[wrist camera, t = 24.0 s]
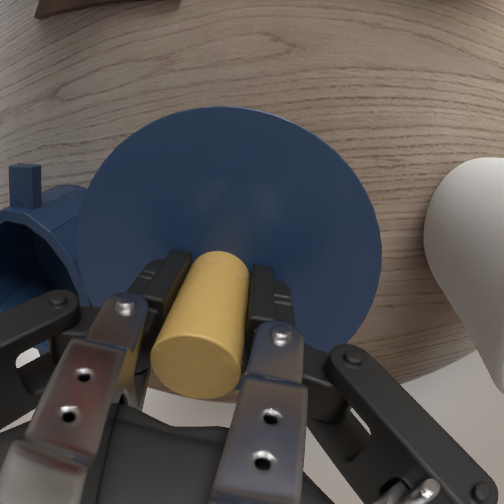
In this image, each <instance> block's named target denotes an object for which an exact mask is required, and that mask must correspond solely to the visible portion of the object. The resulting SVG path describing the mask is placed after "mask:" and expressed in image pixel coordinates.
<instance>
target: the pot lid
mask: <svg viewBox="0 0 504 504" xmlns="http://www.w3.org/2000/svg"><path fill="white" fill-rule="evenodd" d="M172 249H175V250H181V251H186V252H191V267H190V269H189V271H188V273H187V275H186V278H185V280H184V282H183V284H182V286H181V288H180V290H179V292H178V294H177V296H176V298H175V300H174V302H173V304H172V306H171V309H170V311H169V313H168V315H167V317H166V319H165V321H164V323H163V326H162V328H161V330H160V332H159V334H158V336H157V339H156V341H155V343H154V345H153V347H152V350H151V352H150V366H151V368H152V370H153V372H154V374H155V376H156V377H157V378H158V379H159V381H160V382H161V383H163V384H164V385H165V386H166V387H167V388H169V389H171V390H172V391H174V392H176V393H178V394H180V395H183V396H186V397H190V398H195V399H215V398H219V397H222V396H225V395H227V394H229V393H230V392H232V391H233V390H234V389H241V386H242V382H243V378H244V375H245V374H242V365H243V355H244V344H245V332H246V322H247V311H248V301H249V290H250V280H251V275H252V270H253V266H254V264H259V265H264V266H270V267H273V280H277V281H283V282H285V283H286V284H287V286H288V287H289V288H290V289H291V295H292V303H293V305H292V306H293V310H294V318H295V326H296V328H298V329H299V330H300V331H301V332H302V334H303V336H304V343H306V344H307V345H309V346H311V347H313V348H315V349H318V350H321V351H323V352H326V353H329V354H330V352H331V350H332V349H333V348H334V347H335V346H337V345H341V344H346V343H347V342H348V341H349V340H350V339H351V338H352V336H353V335H354V334H355V333H356V331H357V330H358V328H359V327H360V325H361V324H362V322H363V321H364V319H365V317H366V315H367V313H368V311H369V309H370V307H371V305H372V303H373V300H374V297H375V294H376V291H377V287H378V283H379V277H380V271H381V255H382V247H381V239H380V231H379V226H378V222H377V219H376V215H375V212H374V208H373V206H372V204H371V201H370V199H369V197H368V195H367V193H366V191H365V188H364V187H363V185H362V184H361V182H360V181H359V179H358V178H357V176H356V175H355V173H354V172H353V170H352V169H351V168H350V166H349V165H348V164H347V163H346V162H345V161H344V160H343V159H342V157H341V156H340V155H339V154H338V153H337V152H336V151H335V150H334V149H332V148H331V147H330V146H329V145H328V144H326V143H325V142H324V141H323V140H321V139H320V138H319V137H318V136H316V135H315V134H313V133H311V132H310V131H308V130H306V129H305V128H303V127H301V126H299V125H298V124H296V123H294V122H291V121H289V120H287V119H284V118H282V117H279V116H277V115H274V114H271V113H267V112H263V111H259V110H254V109H250V108H243V107H231V106H213V107H200V108H194V109H190V110H185V111H181V112H177V113H173V114H171V115H168V116H166V117H163V118H160V119H158V120H156V121H153V122H151V123H150V124H148V125H146V126H144V127H143V128H141V129H139V130H138V131H136V132H134V133H133V134H132V135H131V136H129V137H128V138H127V139H126V140H124V141H123V142H122V143H121V144H120V145H118V146H117V147H116V148H115V150H114V151H113V152H112V153H111V154H110V155H109V156H108V157H107V158H106V160H105V161H104V162H103V163H102V165H101V166H100V168H99V169H98V171H97V173H96V174H95V176H94V177H93V179H92V181H91V183H90V185H89V187H88V190H87V192H86V194H85V196H84V200H83V203H82V207H81V210H80V214H79V220H78V227H77V256H78V263H79V269H80V273H81V277H82V280H83V284H84V287H85V289H86V292H87V294H88V296H89V299H90V301H91V303H92V305H93V307H101V306H102V305H103V303H104V301H105V300H106V299H107V298H108V297H109V296H111V295H113V294H117V293H123V292H126V291H127V290H128V289H129V287H130V286H131V285H132V283H133V282H134V281H135V279H136V278H137V277H138V275H139V274H140V273H141V271H142V270H143V269H144V268H145V266H146V265H147V264H148V263H150V262H152V261H154V260H156V259H162V260H165V259H166V257H167V256H168V254H169V253H170V251H171V250H172Z"/></svg>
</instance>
